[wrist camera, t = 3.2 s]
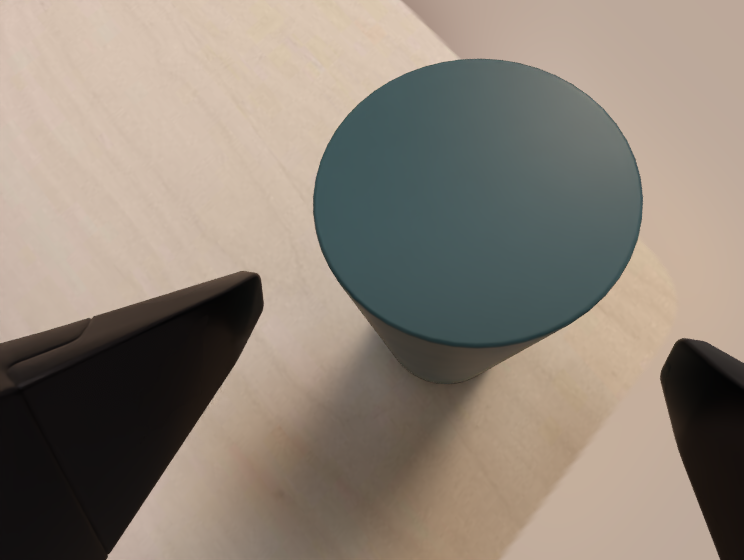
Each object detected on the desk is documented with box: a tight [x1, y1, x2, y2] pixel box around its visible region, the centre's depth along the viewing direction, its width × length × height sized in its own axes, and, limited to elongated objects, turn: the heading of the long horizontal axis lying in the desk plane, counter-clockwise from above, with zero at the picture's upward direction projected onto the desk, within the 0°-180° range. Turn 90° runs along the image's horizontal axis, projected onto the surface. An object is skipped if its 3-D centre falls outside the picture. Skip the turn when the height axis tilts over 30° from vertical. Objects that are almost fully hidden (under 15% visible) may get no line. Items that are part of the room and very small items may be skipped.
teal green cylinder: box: [313, 59, 643, 384], centre depth 12 cm, size 5×5×12 cm
